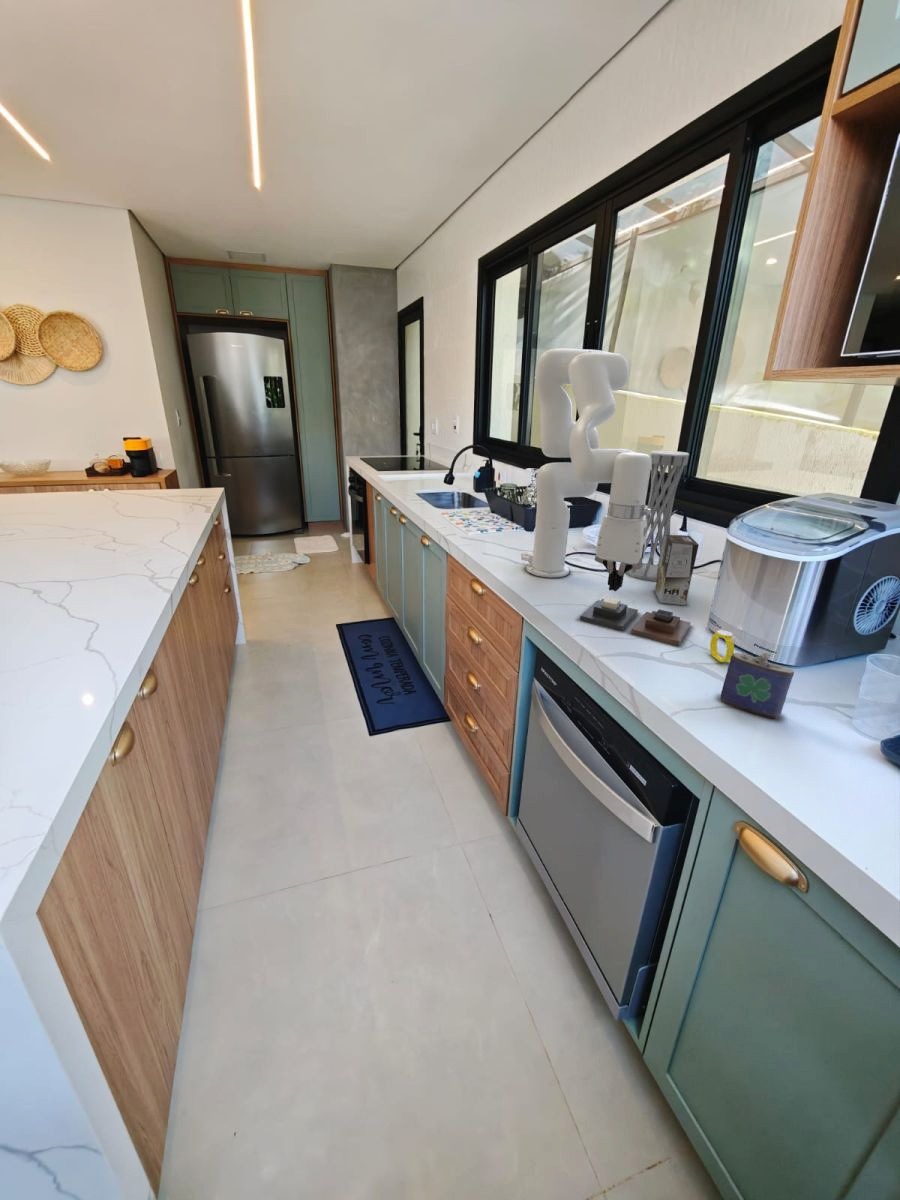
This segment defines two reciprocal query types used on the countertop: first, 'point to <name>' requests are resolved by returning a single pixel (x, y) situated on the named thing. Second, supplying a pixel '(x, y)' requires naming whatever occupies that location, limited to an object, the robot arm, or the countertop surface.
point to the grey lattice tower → (658, 460)
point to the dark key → (663, 616)
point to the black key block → (609, 615)
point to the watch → (729, 644)
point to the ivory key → (611, 603)
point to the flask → (756, 685)
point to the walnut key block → (661, 629)
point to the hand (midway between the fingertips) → (614, 588)
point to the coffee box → (676, 569)
